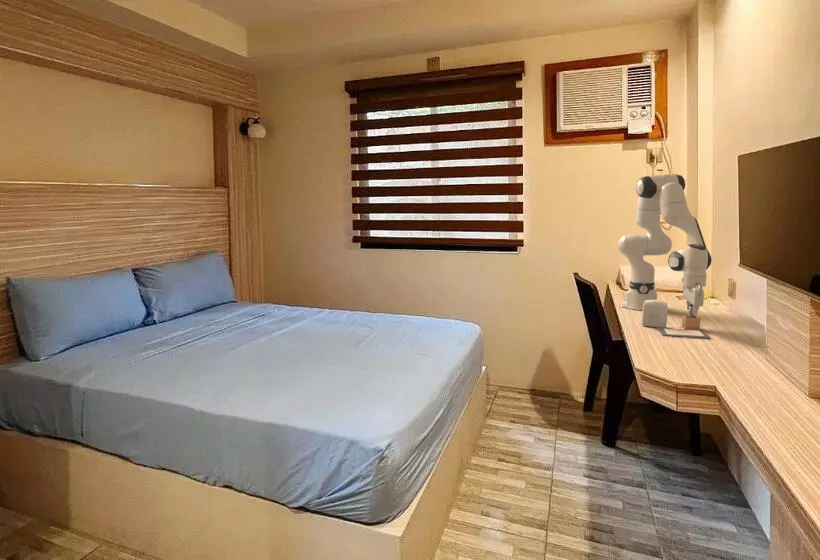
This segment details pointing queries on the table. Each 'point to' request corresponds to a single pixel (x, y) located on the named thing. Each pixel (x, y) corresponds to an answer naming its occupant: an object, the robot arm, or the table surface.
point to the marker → (690, 311)
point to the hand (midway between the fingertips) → (691, 312)
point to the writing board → (684, 333)
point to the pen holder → (691, 323)
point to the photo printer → (655, 313)
